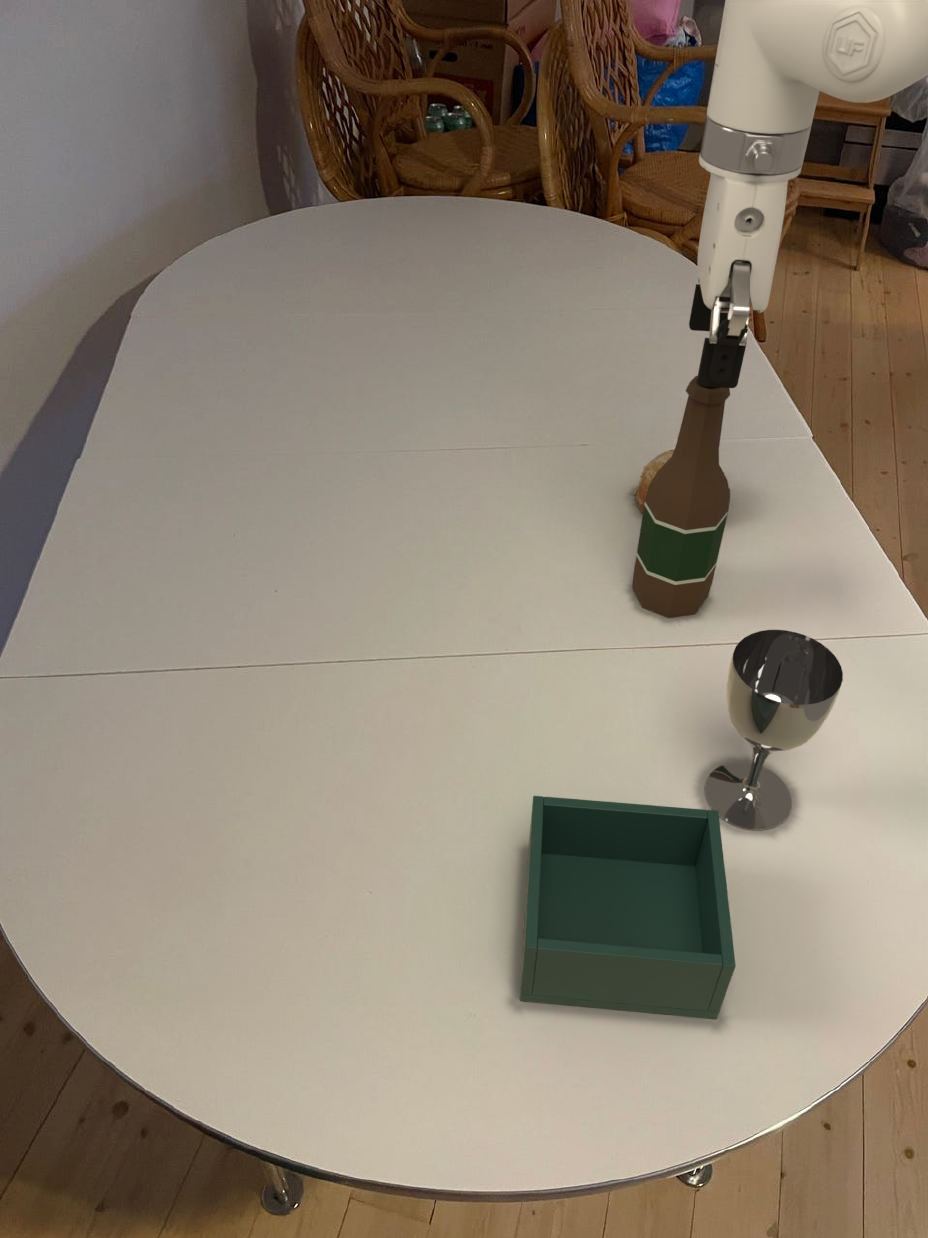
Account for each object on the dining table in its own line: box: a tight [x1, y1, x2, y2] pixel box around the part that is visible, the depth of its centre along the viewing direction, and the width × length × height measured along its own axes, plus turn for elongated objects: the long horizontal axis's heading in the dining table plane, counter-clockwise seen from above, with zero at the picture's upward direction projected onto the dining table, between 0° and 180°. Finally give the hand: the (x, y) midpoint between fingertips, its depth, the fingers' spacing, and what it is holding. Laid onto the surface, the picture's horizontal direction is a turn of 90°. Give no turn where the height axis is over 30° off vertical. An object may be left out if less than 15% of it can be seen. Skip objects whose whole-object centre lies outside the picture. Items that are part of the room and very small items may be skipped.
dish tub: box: [519, 795, 736, 1020], centre depth 75 cm, size 14×13×7 cm
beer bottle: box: [632, 375, 731, 619], centre depth 98 cm, size 8×8×24 cm
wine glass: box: [703, 629, 844, 831], centre depth 81 cm, size 8×8×15 cm
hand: (711, 356), depth 88 cm, fingers open, 9 cm apart
